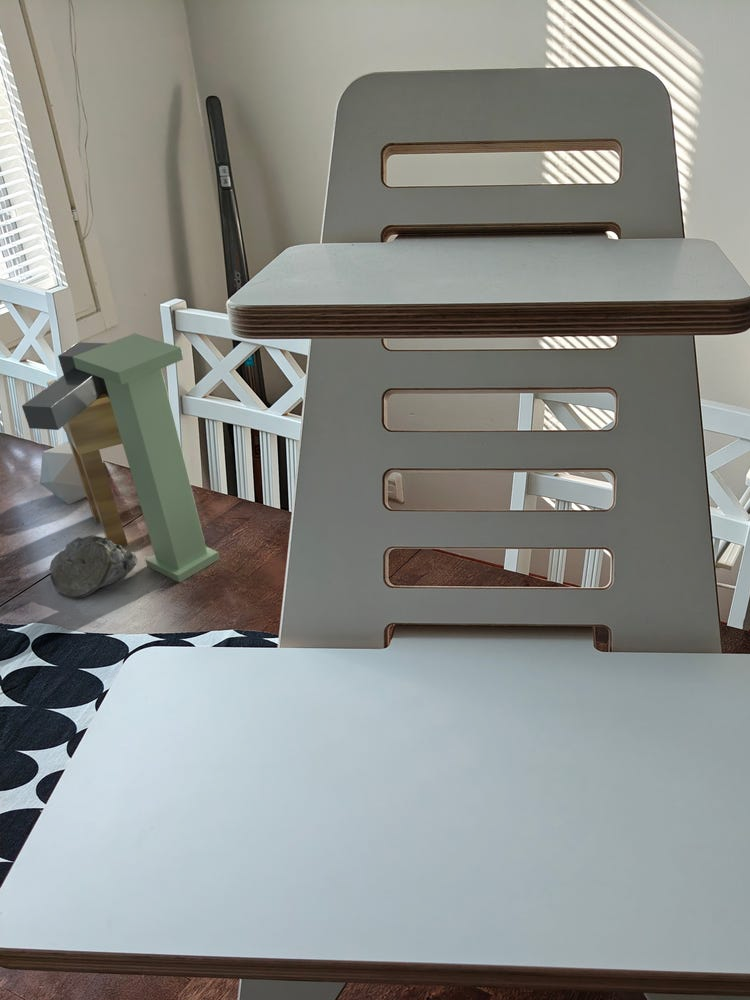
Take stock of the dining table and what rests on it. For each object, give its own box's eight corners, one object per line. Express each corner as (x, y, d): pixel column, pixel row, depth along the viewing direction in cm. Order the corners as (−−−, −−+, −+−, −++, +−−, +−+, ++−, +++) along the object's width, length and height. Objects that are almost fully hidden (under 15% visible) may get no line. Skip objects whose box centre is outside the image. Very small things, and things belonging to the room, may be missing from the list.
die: (94, 478, 157) (39, 440, 151) (125, 462, 152) (69, 421, 146) (73, 520, 153) (16, 482, 147) (104, 504, 148) (45, 464, 141)
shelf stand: (178, 588, 130) (118, 372, 112) (136, 567, 134) (72, 356, 116) (230, 558, 135) (180, 347, 117) (188, 538, 140) (134, 333, 122)
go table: (90, 515, 147) (46, 381, 134) (169, 493, 151) (133, 361, 138) (109, 551, 138) (64, 412, 125) (192, 526, 143) (157, 389, 130)
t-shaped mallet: (88, 377, 134) (77, 341, 131) (127, 379, 133) (118, 343, 130) (22, 428, 122) (8, 389, 119) (65, 430, 121) (53, 392, 118)
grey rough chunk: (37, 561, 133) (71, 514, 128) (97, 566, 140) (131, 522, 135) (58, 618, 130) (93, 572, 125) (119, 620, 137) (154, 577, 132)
